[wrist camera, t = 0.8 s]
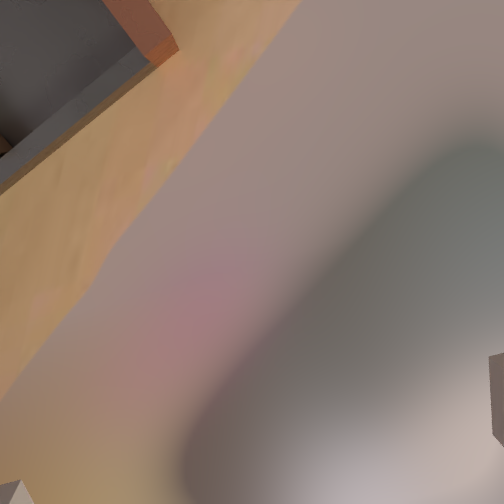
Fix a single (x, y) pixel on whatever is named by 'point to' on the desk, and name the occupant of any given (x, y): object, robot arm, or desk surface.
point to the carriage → (4, 146)
